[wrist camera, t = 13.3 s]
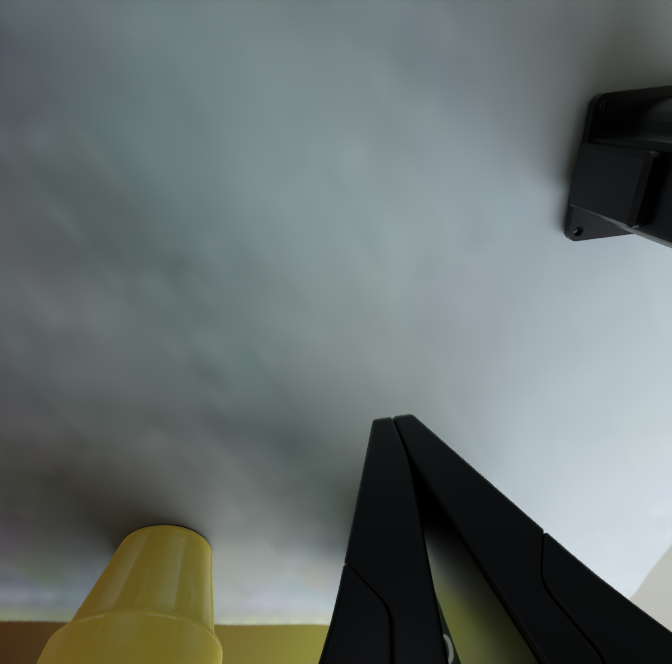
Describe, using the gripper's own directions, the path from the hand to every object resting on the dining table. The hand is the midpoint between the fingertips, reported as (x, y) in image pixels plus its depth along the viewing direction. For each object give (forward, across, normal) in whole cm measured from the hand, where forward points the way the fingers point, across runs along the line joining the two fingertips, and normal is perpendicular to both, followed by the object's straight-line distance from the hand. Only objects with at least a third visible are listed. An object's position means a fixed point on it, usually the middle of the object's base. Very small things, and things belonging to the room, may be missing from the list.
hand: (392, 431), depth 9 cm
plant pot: (+13, +15, +22) cm, 30 cm away
